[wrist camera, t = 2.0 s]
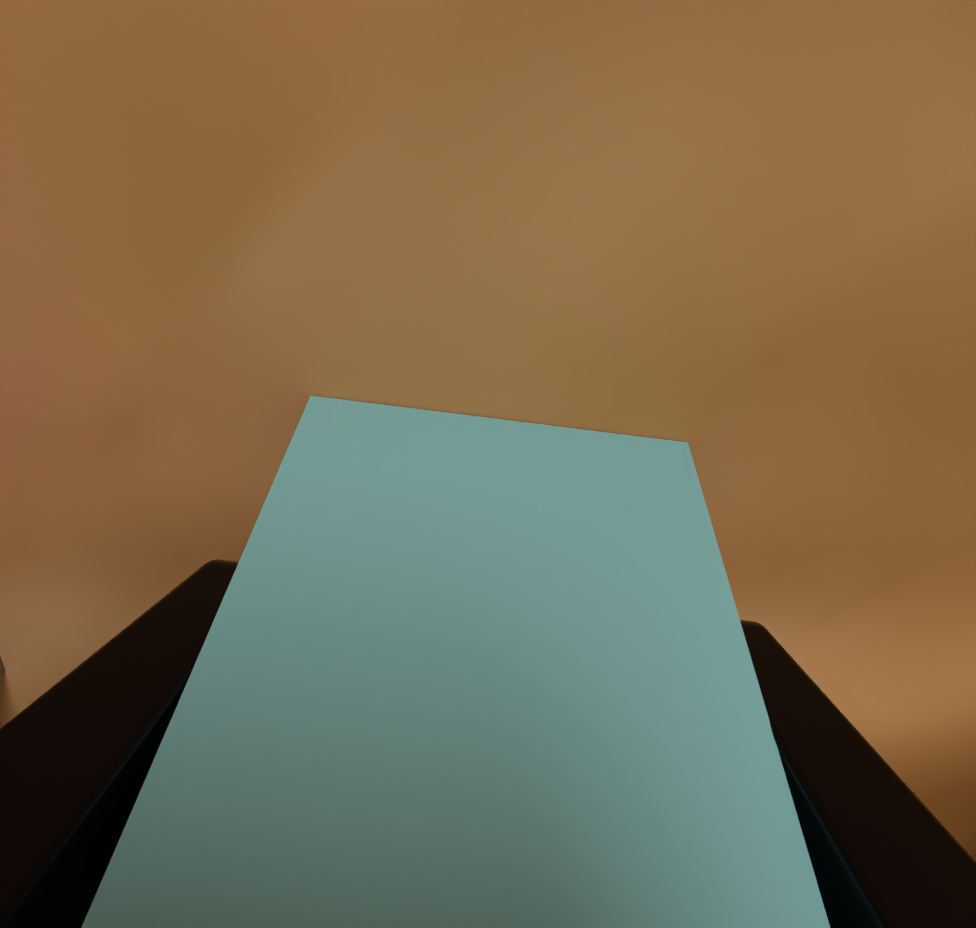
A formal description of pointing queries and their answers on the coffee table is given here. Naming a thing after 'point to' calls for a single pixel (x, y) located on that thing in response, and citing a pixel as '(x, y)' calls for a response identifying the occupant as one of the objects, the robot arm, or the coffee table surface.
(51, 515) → the coffee table surface
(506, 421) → the domino
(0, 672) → the domino
